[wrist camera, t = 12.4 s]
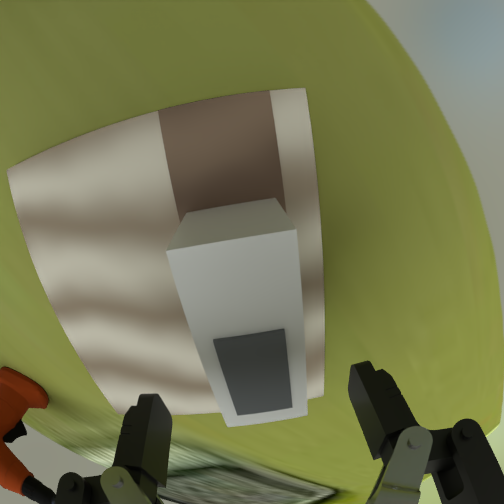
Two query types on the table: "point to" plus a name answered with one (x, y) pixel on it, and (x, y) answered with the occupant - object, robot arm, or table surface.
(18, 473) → the toy drill
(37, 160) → the subfloor panel
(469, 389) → the table surface
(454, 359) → the table surface
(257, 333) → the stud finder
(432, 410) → the table surface
